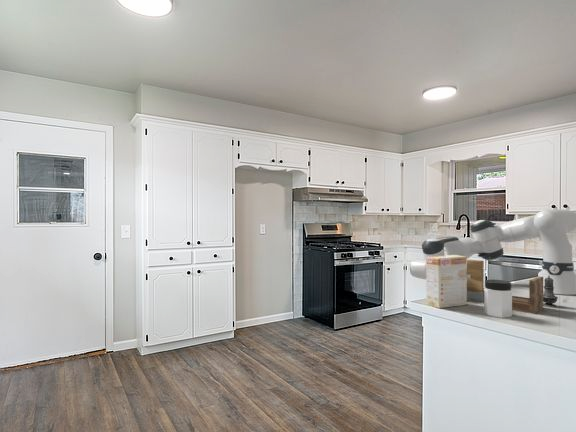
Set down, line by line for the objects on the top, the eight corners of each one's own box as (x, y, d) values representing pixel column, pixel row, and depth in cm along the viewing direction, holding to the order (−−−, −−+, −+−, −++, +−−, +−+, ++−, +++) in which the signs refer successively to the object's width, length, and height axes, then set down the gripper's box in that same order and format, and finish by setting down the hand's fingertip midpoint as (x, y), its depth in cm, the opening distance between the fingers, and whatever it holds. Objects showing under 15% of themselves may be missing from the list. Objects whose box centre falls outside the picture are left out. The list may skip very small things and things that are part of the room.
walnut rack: (504, 301, 151) (504, 272, 151) (543, 307, 141) (543, 276, 141) (493, 306, 142) (493, 276, 142) (533, 313, 132) (533, 280, 132)
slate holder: (465, 295, 163) (465, 287, 163) (489, 299, 156) (489, 290, 156) (458, 298, 158) (458, 289, 158) (482, 301, 151) (482, 293, 151)
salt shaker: (561, 307, 141) (561, 276, 141) (544, 307, 142) (544, 276, 142) (553, 304, 147) (553, 274, 147) (537, 303, 148) (537, 274, 148)
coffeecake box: (453, 301, 152) (453, 254, 152) (467, 305, 145) (467, 256, 145) (425, 304, 146) (425, 256, 146) (439, 308, 140) (439, 257, 140)
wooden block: (469, 296, 160) (469, 259, 160) (483, 298, 155) (483, 260, 155) (466, 296, 158) (466, 260, 158) (481, 299, 154) (481, 261, 154)
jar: (514, 318, 126) (514, 284, 126) (488, 317, 128) (488, 282, 128) (506, 312, 134) (506, 279, 134) (482, 310, 136) (482, 278, 136)
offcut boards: (502, 304, 146) (502, 296, 146) (531, 309, 138) (531, 300, 138) (499, 306, 144) (499, 297, 144) (528, 310, 136) (528, 301, 136)
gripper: (453, 276, 174) (484, 280, 164) (433, 281, 160) (465, 286, 150) (453, 263, 174) (484, 266, 164) (433, 267, 160) (465, 270, 150)
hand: (475, 275), depth 157 cm, fingers open, 8 cm apart
